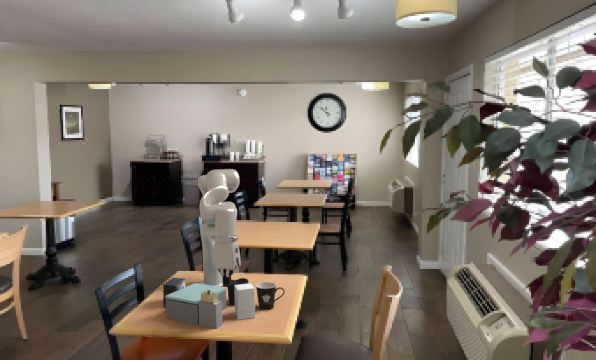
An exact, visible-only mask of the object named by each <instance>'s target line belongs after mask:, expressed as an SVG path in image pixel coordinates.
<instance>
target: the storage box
mask: <svg viewBox="0 0 596 360" xmlns="http://www.w3.org/2000/svg"><path fill="white" fill-rule="evenodd" d="M226 309H227V290H226V291H224V292H222V293H220V294H218V301H216V302H214V303H210V302H205V301H201V300H200V301H198V304H193V303H188V302H183V301H177V300H172V299H166V307H165V310H166V311H165V312H166V314H165V315H166V319H168V320H172V321H176V322H177V321H178V322H183V323H187V324H193V325H196V326H198V325H199V326H202V327H207V328H212V329H219V328H220V327H222V326H223V311H224V310H226Z"/></svg>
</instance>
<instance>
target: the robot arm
mask: <svg viewBox="0 0 596 360" xmlns="http://www.w3.org/2000/svg"><path fill="white" fill-rule="evenodd" d="M240 181H241V180H240V175H239V172H238V171H237V170H236V169H233V168H224V169H212V170H210V171H208V172H207V174H205V175H204V174H203V175H200V176H199V177H198V179H197V186H198V188H199V190H200V192H201V194H202V197H201V198H200V200H199V213H200V214H199V215H200V218H201V221H202V223H203V224H201V226H200V228H199V232H200V239H201V246H202V267H203V269H202V270H203V275H202V276H203V280H202V281H201V282H200V284H205V285H211V286H218V287H224V288H228V287H229V286H231V280H232V276H233V274H237V273H239V272H240V267H241V263H242V262H241V252H240V247H239V243H238V242H237V241H239V237H237V236H236V235H237V217H238V210H237V207H236V204H235V203H234V202H232V201H226V199H227V198H228V197H229V194H230V193H234V192H236V190H237V189H238V187H239V186H240Z"/></svg>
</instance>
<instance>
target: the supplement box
mask: <svg viewBox="0 0 596 360" xmlns="http://www.w3.org/2000/svg"><path fill="white" fill-rule="evenodd" d="M234 291H235V306H234V315H235V317H236V318H237V320H246V319H247V320H249V319H254V318H256V304H255V302H256V299H255V297H256V295H255V286H254V285H253V284H252V283H248V284H240V285H234Z"/></svg>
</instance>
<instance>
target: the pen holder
mask: <svg viewBox="0 0 596 360" xmlns="http://www.w3.org/2000/svg"><path fill="white" fill-rule="evenodd" d="M240 284H249V279H247V278H244V277H241V278H237V279H231V286H229V287H227V299H228V304H229V305H231V306H233V307H235V291H234V285H240Z"/></svg>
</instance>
